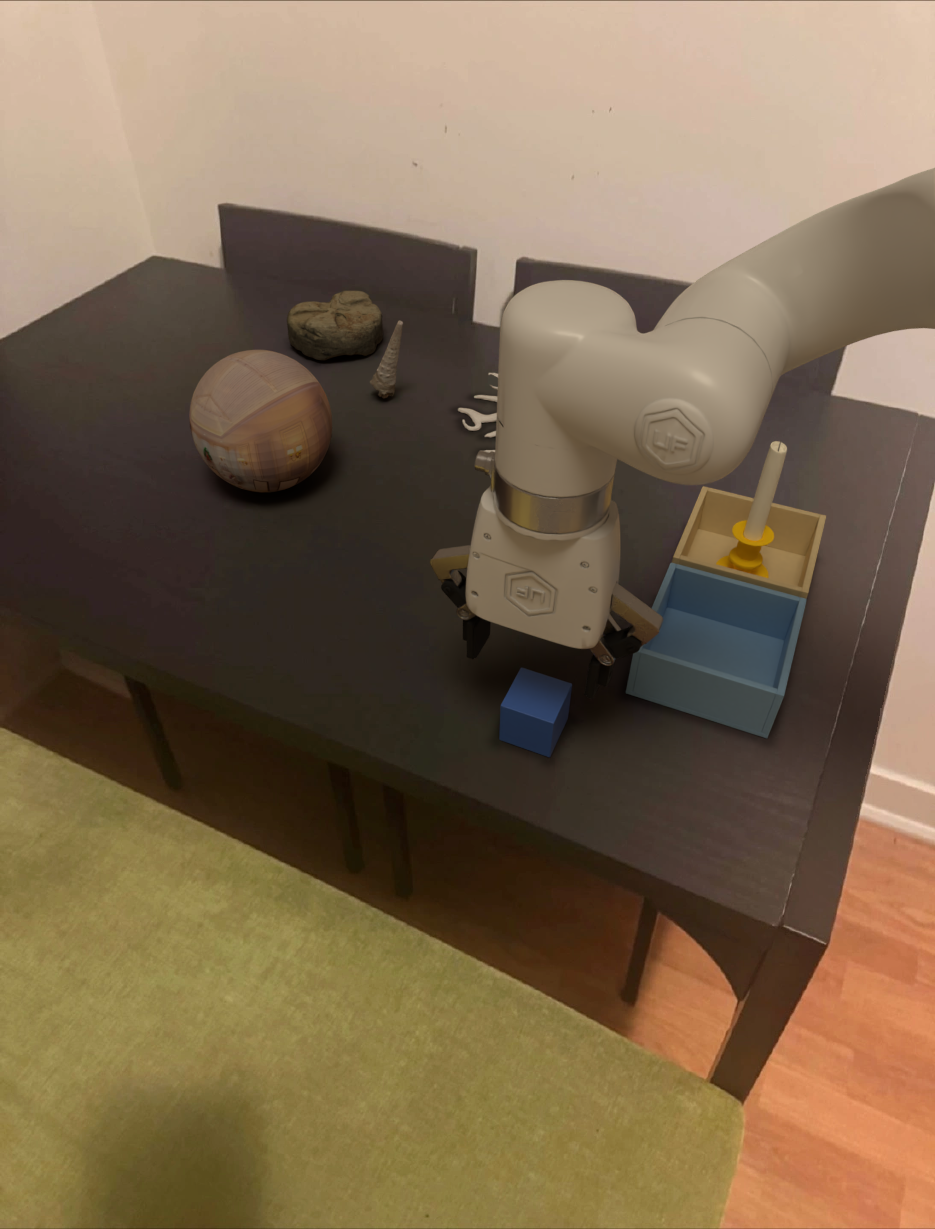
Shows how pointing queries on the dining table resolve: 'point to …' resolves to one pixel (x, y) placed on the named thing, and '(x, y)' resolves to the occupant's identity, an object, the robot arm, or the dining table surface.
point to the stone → (336, 326)
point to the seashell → (388, 365)
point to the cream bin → (782, 557)
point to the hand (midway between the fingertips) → (535, 665)
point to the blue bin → (719, 649)
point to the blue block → (535, 711)
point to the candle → (757, 519)
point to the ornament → (260, 420)
